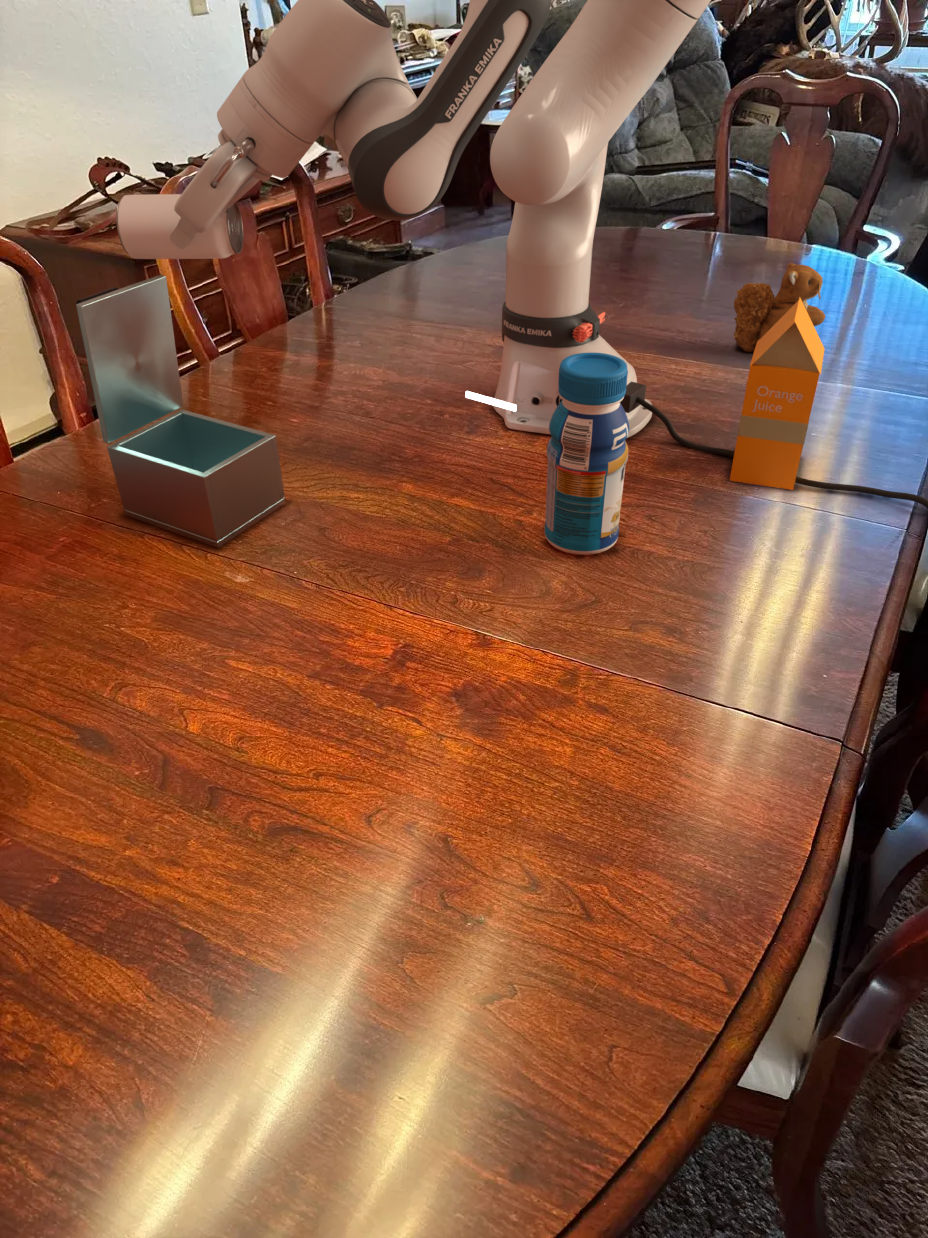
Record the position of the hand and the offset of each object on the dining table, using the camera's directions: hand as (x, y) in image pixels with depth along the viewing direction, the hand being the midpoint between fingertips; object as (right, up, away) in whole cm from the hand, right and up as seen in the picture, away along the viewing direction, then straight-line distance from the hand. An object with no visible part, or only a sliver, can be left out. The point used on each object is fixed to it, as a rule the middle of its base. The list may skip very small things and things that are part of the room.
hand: (187, 233), depth 100 cm
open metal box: (0, -29, +8) cm, 30 cm away
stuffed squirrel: (+79, +1, +47) cm, 92 cm away
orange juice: (+68, -24, +14) cm, 73 cm away
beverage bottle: (+43, -33, +2) cm, 55 cm away
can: (-7, +1, 0) cm, 7 cm away
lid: (-6, -14, 0) cm, 15 cm away
